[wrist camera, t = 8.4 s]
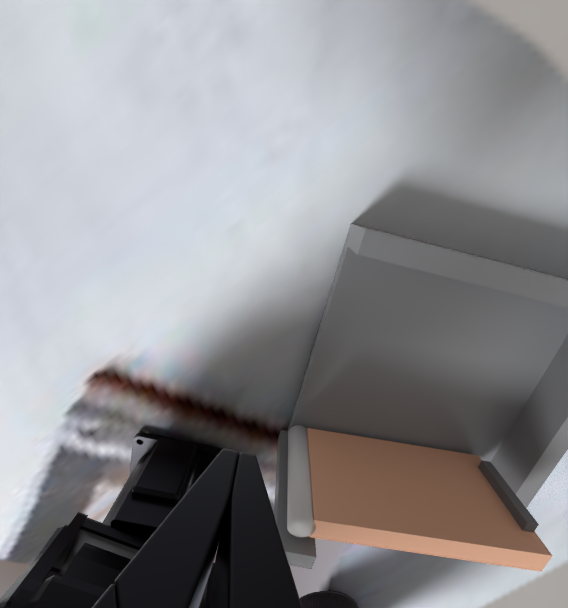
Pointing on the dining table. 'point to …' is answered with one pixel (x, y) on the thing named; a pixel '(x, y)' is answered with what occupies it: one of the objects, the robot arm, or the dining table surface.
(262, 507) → the robot arm
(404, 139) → the dining table surface
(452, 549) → the door
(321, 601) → the camera lens
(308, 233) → the dining table surface
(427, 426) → the housing
